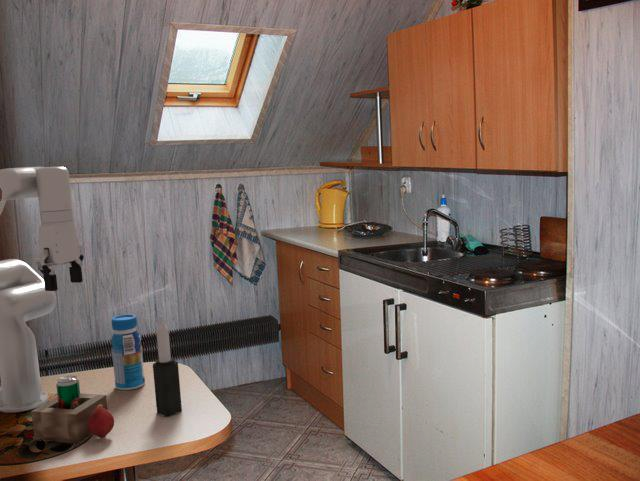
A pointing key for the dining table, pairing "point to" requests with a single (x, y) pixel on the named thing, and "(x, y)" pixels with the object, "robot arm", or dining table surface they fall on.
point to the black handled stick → (166, 375)
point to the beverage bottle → (127, 353)
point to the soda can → (68, 392)
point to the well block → (65, 419)
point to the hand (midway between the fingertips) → (64, 286)
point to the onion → (100, 422)
